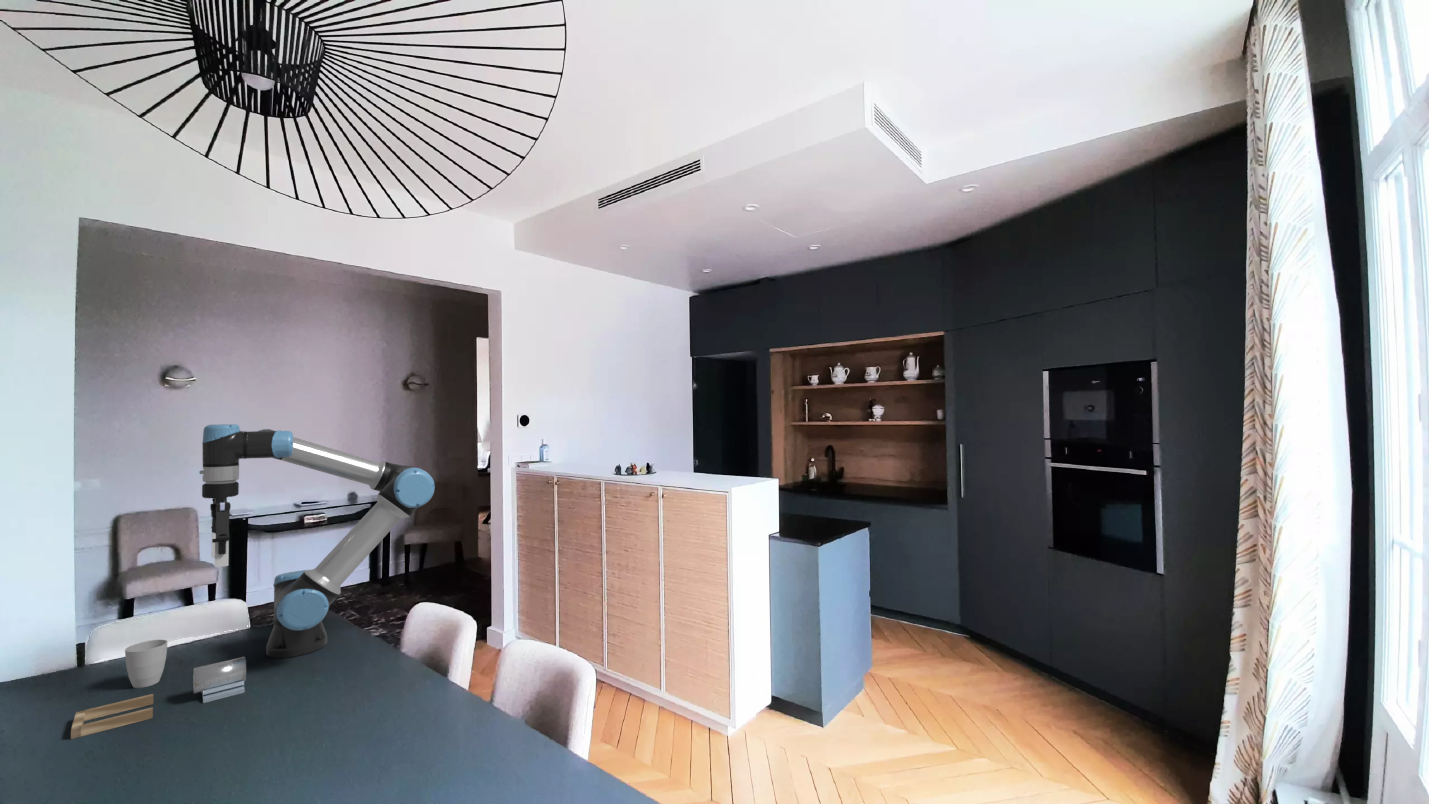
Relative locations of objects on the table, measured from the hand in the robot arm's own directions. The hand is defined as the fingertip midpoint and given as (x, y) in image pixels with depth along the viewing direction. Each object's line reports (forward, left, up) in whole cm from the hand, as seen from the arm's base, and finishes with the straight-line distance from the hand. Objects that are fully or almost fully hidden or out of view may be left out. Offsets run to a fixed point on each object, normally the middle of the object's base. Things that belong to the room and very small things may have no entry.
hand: (219, 561), depth 157 cm
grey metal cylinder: (+10, 0, -30) cm, 31 cm away
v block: (+9, 0, -32) cm, 33 cm away
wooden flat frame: (+9, -19, -32) cm, 38 cm away
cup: (-11, -14, -32) cm, 37 cm away
